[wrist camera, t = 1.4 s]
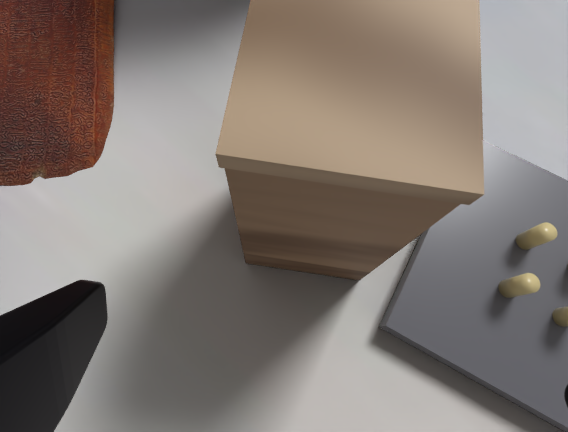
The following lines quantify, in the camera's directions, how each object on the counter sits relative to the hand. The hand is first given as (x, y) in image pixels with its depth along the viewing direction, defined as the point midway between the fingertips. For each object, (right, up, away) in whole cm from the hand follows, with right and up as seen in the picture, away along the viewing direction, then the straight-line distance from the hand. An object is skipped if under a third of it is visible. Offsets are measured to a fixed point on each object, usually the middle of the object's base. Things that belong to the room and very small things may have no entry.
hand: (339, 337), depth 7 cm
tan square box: (0, +2, +14) cm, 14 cm away
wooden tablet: (-17, +16, +19) cm, 30 cm away
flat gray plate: (+12, -1, +14) cm, 18 cm away
